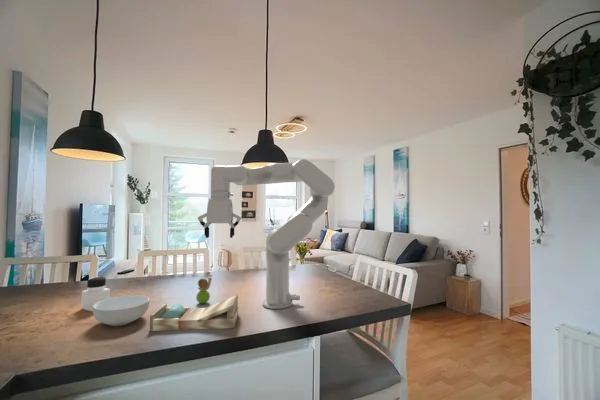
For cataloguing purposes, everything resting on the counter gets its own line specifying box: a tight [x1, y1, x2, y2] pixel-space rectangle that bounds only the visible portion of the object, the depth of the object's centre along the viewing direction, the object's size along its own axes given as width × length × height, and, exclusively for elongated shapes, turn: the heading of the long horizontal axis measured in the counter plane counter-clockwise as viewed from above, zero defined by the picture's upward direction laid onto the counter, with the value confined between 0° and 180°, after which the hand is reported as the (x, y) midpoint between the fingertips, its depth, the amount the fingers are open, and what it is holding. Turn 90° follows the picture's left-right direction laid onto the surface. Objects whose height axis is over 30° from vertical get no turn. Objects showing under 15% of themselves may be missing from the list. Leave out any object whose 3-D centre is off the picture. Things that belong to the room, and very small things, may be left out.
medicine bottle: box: [80, 276, 112, 313], centre depth 114 cm, size 7×7×12 cm
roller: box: [162, 303, 185, 318], centre depth 99 cm, size 5×8×5 cm
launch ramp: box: [149, 294, 239, 332], centre depth 100 cm, size 27×12×8 cm, turn 96°
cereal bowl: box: [92, 294, 151, 327], centre depth 100 cm, size 17×17×7 cm
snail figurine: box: [196, 274, 213, 305], centre depth 120 cm, size 5×6×12 cm
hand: (219, 237), depth 116 cm, fingers open, 9 cm apart
